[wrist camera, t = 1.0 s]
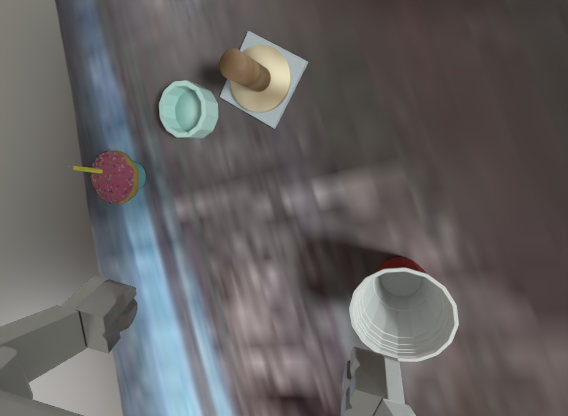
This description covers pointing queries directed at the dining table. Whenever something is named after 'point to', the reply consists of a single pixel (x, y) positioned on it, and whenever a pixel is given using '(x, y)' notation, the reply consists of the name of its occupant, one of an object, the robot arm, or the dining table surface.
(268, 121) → the mat
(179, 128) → the bowl
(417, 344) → the plastic cup
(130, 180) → the cupcake
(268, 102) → the lid
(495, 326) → the dining table surface
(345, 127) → the dining table surface
